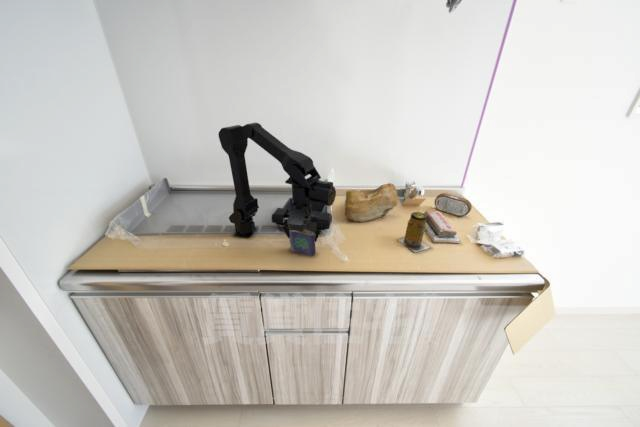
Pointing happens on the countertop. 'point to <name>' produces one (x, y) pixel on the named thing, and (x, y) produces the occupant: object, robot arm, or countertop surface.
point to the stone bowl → (370, 203)
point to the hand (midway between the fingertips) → (302, 239)
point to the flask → (302, 242)
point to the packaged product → (439, 228)
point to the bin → (315, 211)
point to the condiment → (415, 232)
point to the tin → (453, 204)
